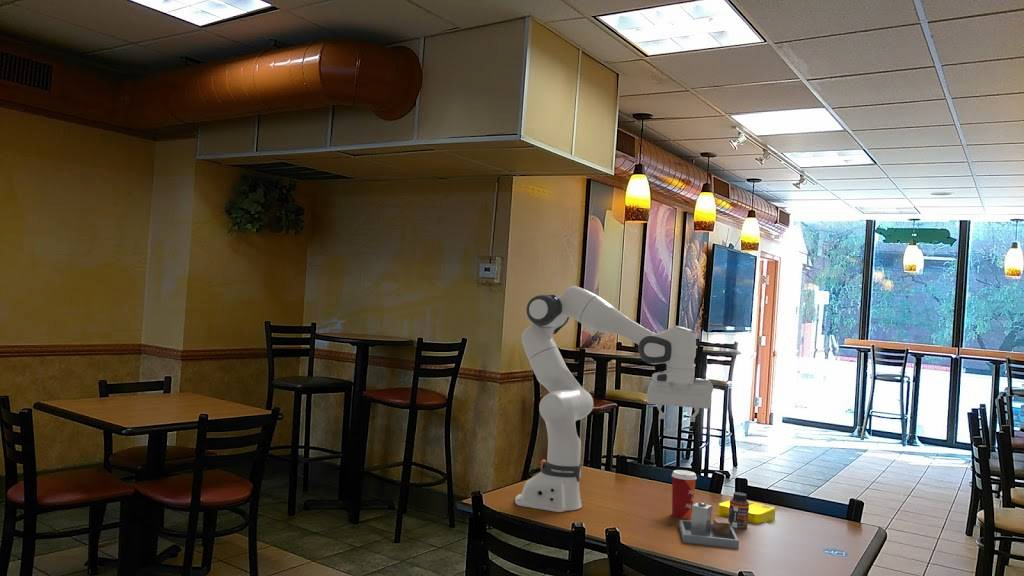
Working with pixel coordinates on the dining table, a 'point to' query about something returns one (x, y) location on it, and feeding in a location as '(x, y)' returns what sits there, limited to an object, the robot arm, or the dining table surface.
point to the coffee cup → (683, 493)
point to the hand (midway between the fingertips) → (677, 420)
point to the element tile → (751, 512)
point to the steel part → (701, 519)
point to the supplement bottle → (738, 511)
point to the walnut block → (721, 527)
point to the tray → (707, 537)
